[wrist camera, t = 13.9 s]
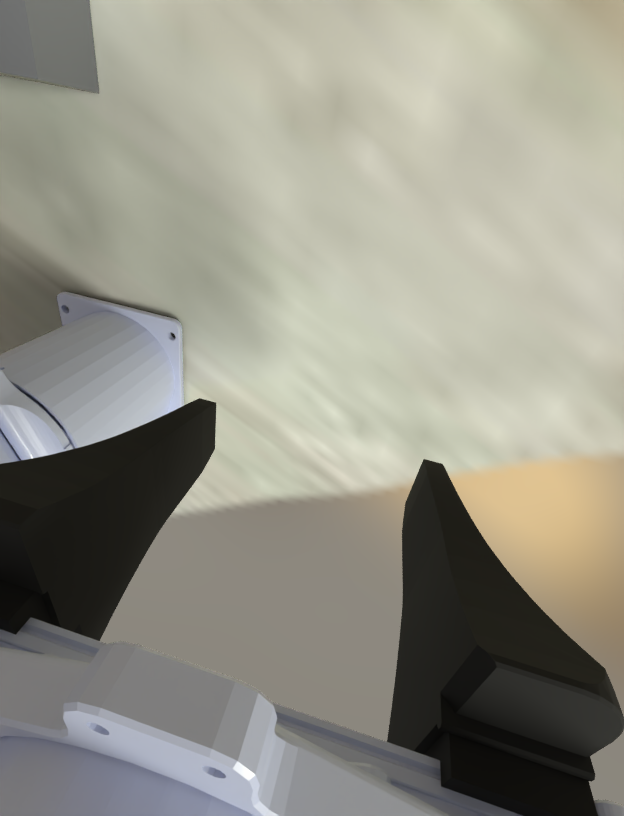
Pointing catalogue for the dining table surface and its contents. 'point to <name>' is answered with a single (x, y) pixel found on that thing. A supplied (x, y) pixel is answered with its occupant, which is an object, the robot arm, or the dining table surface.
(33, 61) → the frame
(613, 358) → the dining table surface
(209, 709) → the robot arm
